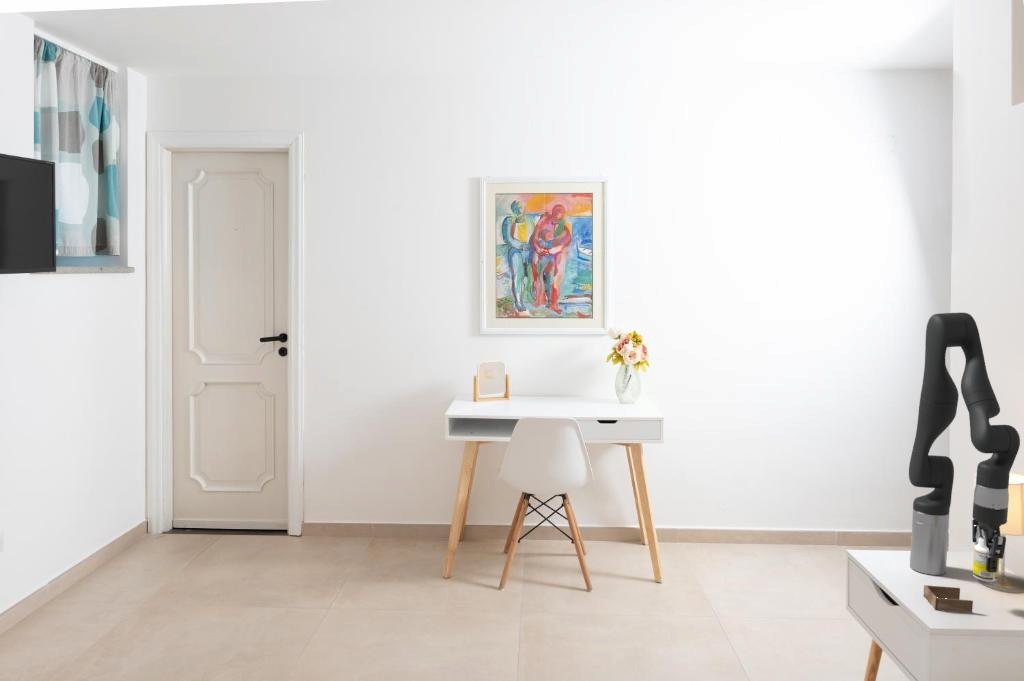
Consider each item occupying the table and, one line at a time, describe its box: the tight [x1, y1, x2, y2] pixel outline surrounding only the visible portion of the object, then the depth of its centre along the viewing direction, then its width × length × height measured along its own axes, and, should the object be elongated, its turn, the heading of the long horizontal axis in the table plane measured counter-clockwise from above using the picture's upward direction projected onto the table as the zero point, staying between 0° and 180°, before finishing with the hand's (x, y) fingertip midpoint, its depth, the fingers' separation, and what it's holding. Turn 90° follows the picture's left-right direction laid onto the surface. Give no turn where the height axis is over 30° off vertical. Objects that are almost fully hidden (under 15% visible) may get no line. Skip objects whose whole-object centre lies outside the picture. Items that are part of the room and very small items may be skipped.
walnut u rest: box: [923, 584, 974, 614], centre depth 202 cm, size 9×9×3 cm
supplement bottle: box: [972, 537, 1000, 583], centre depth 200 cm, size 6×6×10 cm
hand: (985, 566), depth 200 cm, fingers closed on supplement bottle, 5 cm apart
